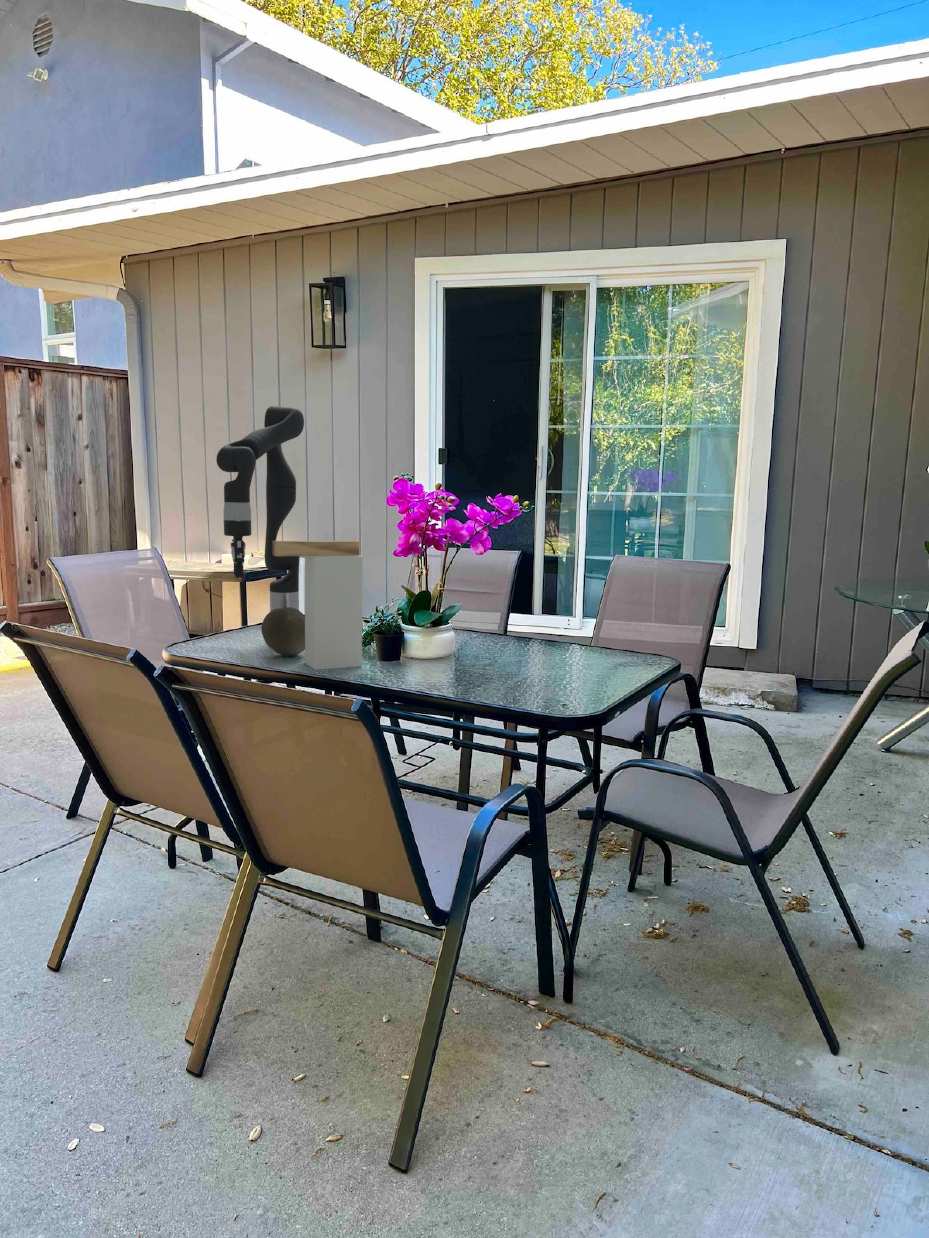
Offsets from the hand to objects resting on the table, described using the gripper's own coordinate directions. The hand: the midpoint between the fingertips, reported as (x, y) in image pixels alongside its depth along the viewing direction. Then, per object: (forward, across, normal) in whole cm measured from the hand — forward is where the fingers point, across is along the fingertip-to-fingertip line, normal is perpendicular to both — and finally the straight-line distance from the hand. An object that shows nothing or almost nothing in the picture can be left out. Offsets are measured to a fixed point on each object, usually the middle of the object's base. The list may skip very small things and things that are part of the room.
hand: (238, 576), depth 249 cm
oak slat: (-6, +6, +21) cm, 23 cm away
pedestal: (+26, +4, +26) cm, 37 cm away
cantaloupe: (+26, -10, +14) cm, 31 cm away
